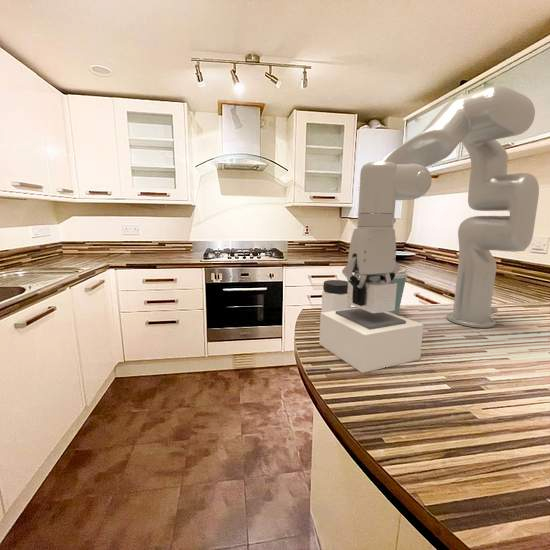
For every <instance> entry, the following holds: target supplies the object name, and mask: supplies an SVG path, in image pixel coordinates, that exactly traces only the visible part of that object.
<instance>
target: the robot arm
mask: <svg viewBox="0 0 550 550" xmlns="http://www.w3.org/2000/svg"><path fill="white" fill-rule="evenodd" d="M535 115H536V109H535V106H534V103H533V101H532V100H531V98H529V97H528V96H527V95H526V94H525V95H524V94H522V93H520V92H518V91H517V90H516V91H515V90H514V89H512V88H509V87H507V86H502V85H501V86H500V85H493V86H489V87H485V88H483V89H480V90H476V91H473V92H469V93H467V94H464V95H461V96H458V97H456V98H453V99H452V100H450V101H449V102H448V103H447V104H446V105H444V107H443V108H442V109H441V110H440V111H439V112H438V114H437V115H435V117H434V118H433V119H432V120H431V121H430V122H429V124H428V125H426V127H425V128H424V129H423V130H422V131H421V132H420V133H418V134H417V135H414V136H413V137H411V138H409V140H407V141H406V142H404V143H403V144H402V145H399V146H398V147H397V148H395V149H393V150H392V151H391V152H389V153H388V154H386V155H385V156H384V157H383V158H382V159H381V160H380V161H372V162H368V163H365V164H364V165H362V166H361V170H360V174H359V191H358V192H359V193H358V207H357V208H358V209H357V226H356V228H354V229H353V231H352V234H351V239H350V243H349V248H348V249H349V250H348V258H347V264H346V265H345V266H344V268H343V269H342V272H341V273H342V274H343V276H344V277H345V278H346V279H347V280H346V281H349V282H350V283H351V286H353V297H352V299H353V300H352V302H353V303H354V304H357V305H359V306H363V305H364V293H365V288H362V287H363V284H364V282H365V279H366V277H367V275H378V274H380V279H381V280H385V281H389V282H391V281H392V280H393V279H394V277H395V275H396V274H397V273H398V271H399V270H400V268H401V267H400V265H399V264H398V263H397V261H396V257H397V241H396V240H397V239H396V237H397V236H396V231H395V229H394V228H395V227H394V224H395V223H396V221H397V219H396V217H395V215H396V213H395V212H396V202H397V201H407V200H408V201H411V200H417V199H419V198H421V197H423V196H424V195H426V194H427V193H428V192H429V191H430V188H431V186H432V182H433V181H432V180H433V179H432V174H431V172H430V170H429V169H428V168H427V167H429V166H432V165H435V164H437V163H439V162H441V161H443V160H445V159H446V158H448V157H449V156H450V155H451V154H452V153H453V152H454V151H455V149H456V148H457V147H458V145H459V144H460V143H462V144H463V146H464V148H465V149H466V151H467V153H468V155H469V158H470V172H469V173H470V174H469V182H468V183H469V184H468V192H467V195H468V196H467V204H468V207H469V208H470V209H472V210H473V211H479V212H497V211H498V212H500V211H501V212H502V211H503V212H504V211H507V212H508V213H509V215H475V216H470V217H467V218H465V219H464V220H463V221H462V222H461V223H460V224H459V227H458V230H457V237H458V238H457V239H458V253H459V254H458V266H457V273H456V274H457V275H456V281H455V290H454V291H455V292H454V301H453V309H452V311H451V312H448V313H447V314H446V320H448V321H449V322H452V323H455V324H457V325H461V326H464V327H471V328H482V329H486V328H487V329H488V328H493V327H495V326H496V320H495V319H494V318H493V317H491V315H492V314H497V313H498V308H497V307H496V306H492V301H493V296H494V290H495V289H494V288H495V281H496V274H497V262H496V260H495V257H494V256H493V254H492V253H491V251H497V252H511V253H514V252H515V253H516V252H518V253H519V252H522V251H525V250H527V248H529V246H530V244H531V242H532V240H533V235H534V230H535V223H536V217H537V210H538V203H539V196H540V195H539V194H540V185H539V183H538V180H537V177H536V176H535V175H534V174H532V173H529V172H528V173H527V172H520V173H518V172H517V173H509V174H508V163H509V154H508V152H507V150H506V149H505V147H504V146H503V145H502V144H501V143H500V142H499V141H498V140H501V139H505V138H509V137H515V136H519V135H522V134H524V133H525V132H526V131H528V130H529V129H530V128H531V126H532V125H533V124H534V120H535ZM353 273H354V274H353ZM383 276H384V277H383ZM359 277H360V278H359ZM358 278H359V280H358Z"/></svg>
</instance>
